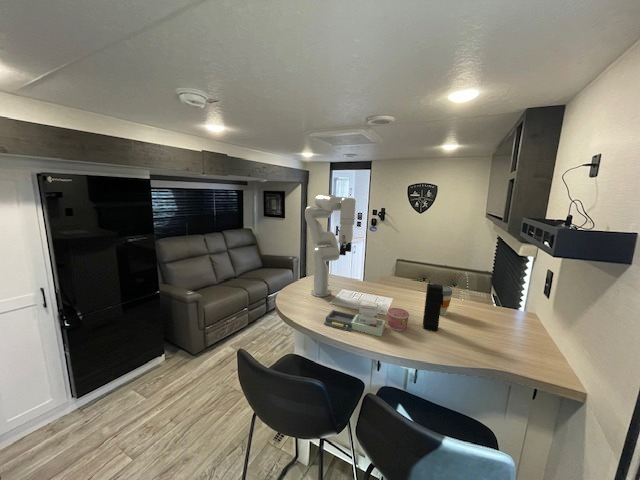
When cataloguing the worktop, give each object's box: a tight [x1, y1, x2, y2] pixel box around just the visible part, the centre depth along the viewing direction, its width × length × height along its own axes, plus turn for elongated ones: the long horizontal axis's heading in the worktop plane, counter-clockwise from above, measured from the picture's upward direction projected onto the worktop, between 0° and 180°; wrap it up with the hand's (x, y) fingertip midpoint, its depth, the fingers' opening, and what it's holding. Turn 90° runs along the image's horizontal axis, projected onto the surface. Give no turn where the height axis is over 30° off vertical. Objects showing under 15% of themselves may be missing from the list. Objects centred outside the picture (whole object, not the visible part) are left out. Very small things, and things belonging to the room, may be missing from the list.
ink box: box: [358, 301, 379, 327], centre depth 126 cm, size 9×5×12 cm, turn 75°
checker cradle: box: [323, 309, 356, 332], centre depth 132 cm, size 14×14×3 cm
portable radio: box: [422, 280, 443, 332], centre depth 127 cm, size 8×6×25 cm
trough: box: [351, 314, 386, 337], centre depth 127 cm, size 10×15×4 cm, turn 66°
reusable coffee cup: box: [433, 283, 453, 316], centre depth 147 cm, size 12×13×15 cm
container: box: [386, 307, 410, 332], centre depth 128 cm, size 10×10×8 cm
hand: (345, 253), depth 136 cm, fingers open, 9 cm apart
